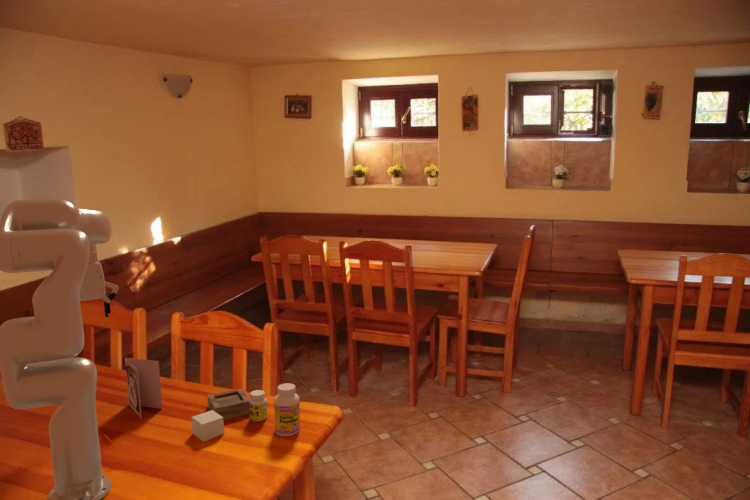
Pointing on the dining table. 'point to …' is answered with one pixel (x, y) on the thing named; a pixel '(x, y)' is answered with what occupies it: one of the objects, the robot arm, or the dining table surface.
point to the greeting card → (143, 384)
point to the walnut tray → (229, 403)
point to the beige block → (207, 425)
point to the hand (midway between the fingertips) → (88, 318)
